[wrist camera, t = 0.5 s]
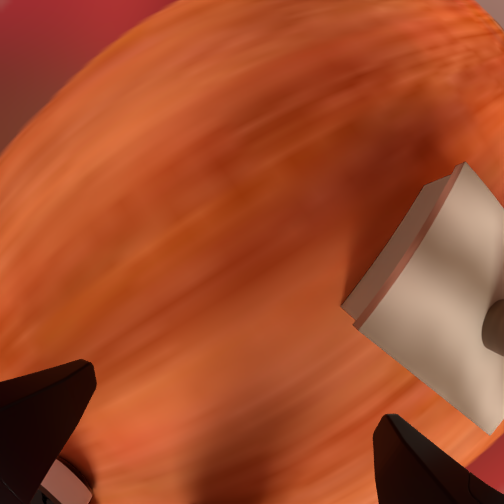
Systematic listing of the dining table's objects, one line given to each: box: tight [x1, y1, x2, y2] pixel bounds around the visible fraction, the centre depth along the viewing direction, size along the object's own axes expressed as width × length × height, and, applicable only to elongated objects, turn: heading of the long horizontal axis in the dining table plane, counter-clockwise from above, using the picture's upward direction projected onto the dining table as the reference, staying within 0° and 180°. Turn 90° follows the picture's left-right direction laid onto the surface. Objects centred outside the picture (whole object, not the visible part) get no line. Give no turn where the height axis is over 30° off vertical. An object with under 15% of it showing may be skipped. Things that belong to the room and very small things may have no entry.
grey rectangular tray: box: [340, 175, 451, 320], centre depth 17 cm, size 12×18×5 cm, turn 52°
